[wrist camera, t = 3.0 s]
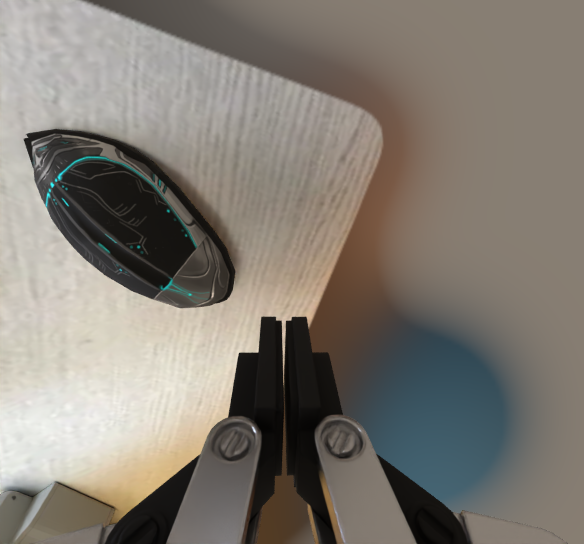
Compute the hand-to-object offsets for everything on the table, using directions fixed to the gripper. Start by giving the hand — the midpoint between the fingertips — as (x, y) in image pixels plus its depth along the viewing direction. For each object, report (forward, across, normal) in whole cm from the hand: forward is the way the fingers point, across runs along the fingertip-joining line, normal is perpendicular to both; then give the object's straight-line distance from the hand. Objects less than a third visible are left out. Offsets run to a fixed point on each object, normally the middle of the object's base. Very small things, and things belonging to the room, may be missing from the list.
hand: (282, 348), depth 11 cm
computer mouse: (+14, +10, -1) cm, 18 cm away
